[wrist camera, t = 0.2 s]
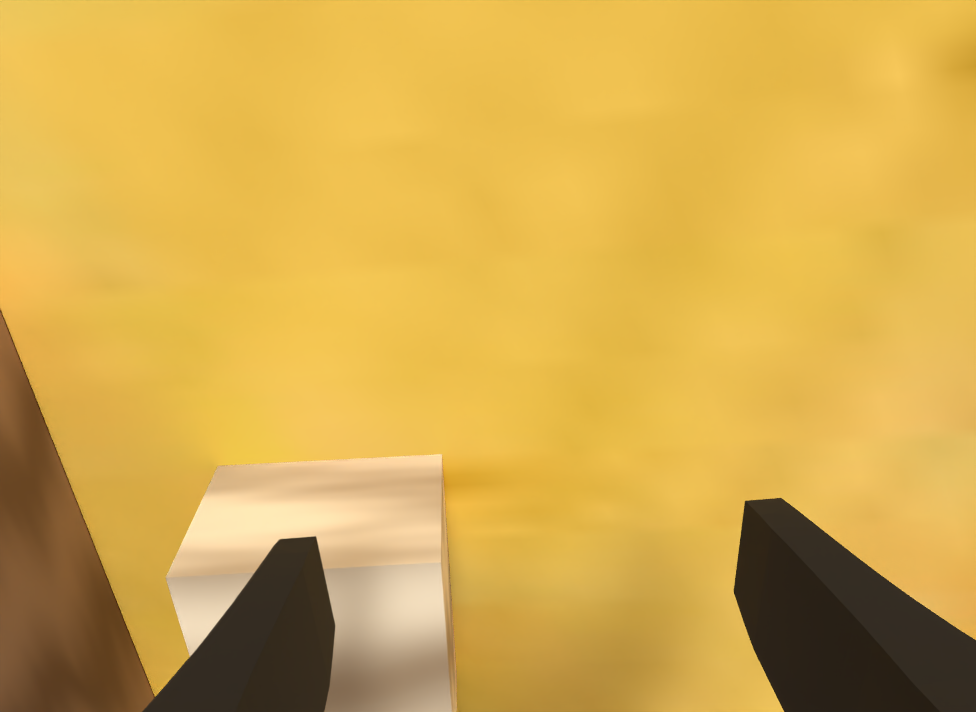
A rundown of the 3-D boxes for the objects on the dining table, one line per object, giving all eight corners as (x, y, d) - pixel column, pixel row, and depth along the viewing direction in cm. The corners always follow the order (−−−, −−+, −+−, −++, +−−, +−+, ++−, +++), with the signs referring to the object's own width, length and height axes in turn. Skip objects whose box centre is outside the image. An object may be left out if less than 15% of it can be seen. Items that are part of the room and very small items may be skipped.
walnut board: (193, 794, 30) (138, 969, 25) (131, 799, 30) (64, 976, 25) (-3, 304, 20) (-166, 422, 15) (-96, 311, 20) (-294, 432, 15)
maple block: (456, 667, 28) (458, 797, 23) (271, 678, 28) (238, 812, 23) (441, 450, 23) (440, 562, 19) (219, 461, 23) (165, 577, 19)
